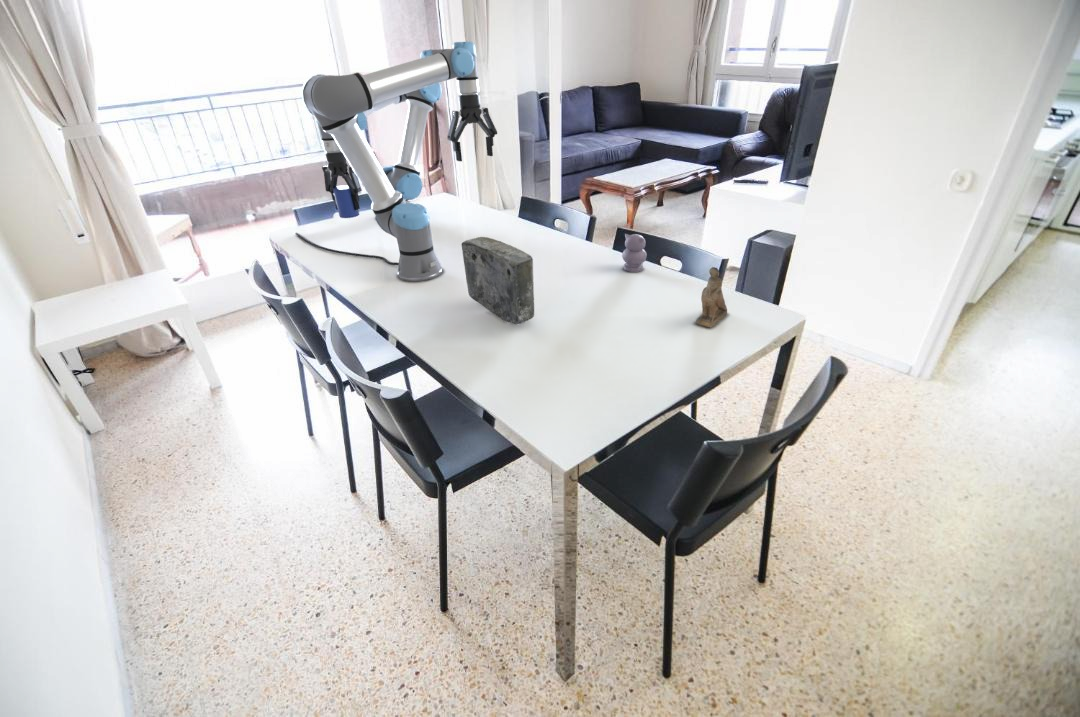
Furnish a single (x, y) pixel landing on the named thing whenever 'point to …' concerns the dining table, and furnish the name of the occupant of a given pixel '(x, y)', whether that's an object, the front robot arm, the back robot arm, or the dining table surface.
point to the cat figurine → (634, 253)
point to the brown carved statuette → (712, 301)
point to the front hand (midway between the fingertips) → (475, 158)
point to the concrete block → (500, 278)
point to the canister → (344, 202)
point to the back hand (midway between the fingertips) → (348, 208)
